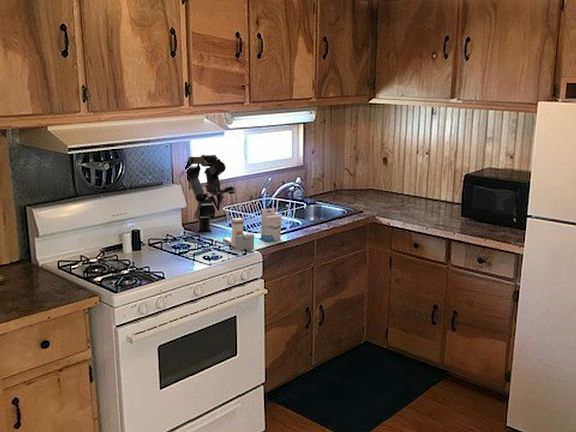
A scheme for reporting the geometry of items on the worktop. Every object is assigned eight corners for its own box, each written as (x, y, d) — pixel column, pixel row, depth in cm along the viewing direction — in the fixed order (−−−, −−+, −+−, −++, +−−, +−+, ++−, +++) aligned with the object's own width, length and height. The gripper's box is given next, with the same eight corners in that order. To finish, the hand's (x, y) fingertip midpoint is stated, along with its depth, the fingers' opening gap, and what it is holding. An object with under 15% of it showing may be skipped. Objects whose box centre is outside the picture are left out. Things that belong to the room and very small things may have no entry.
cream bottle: (230, 245, 284) (231, 218, 281) (240, 243, 286) (241, 217, 284) (236, 247, 280) (236, 220, 277) (246, 246, 282) (246, 219, 280)
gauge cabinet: (234, 248, 278) (234, 234, 277) (249, 246, 282) (250, 233, 281) (238, 250, 275) (238, 236, 274) (253, 248, 279) (254, 234, 278)
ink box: (267, 242, 293) (268, 211, 290) (260, 239, 296) (261, 209, 293) (280, 239, 298) (281, 209, 295) (274, 237, 302) (275, 207, 299)
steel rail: (223, 240, 292) (223, 238, 292) (228, 240, 294) (228, 237, 293) (239, 248, 279) (239, 245, 279) (245, 247, 281) (245, 245, 280)
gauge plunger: (236, 236, 281) (236, 231, 280) (241, 236, 282) (241, 230, 282) (245, 240, 275) (245, 235, 274) (250, 240, 276) (250, 234, 275)
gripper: (189, 180, 291) (195, 212, 288) (227, 170, 289) (233, 203, 286) (196, 185, 302) (201, 216, 299) (233, 176, 300) (239, 207, 297)
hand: (218, 210), depth 295 cm, fingers closed
